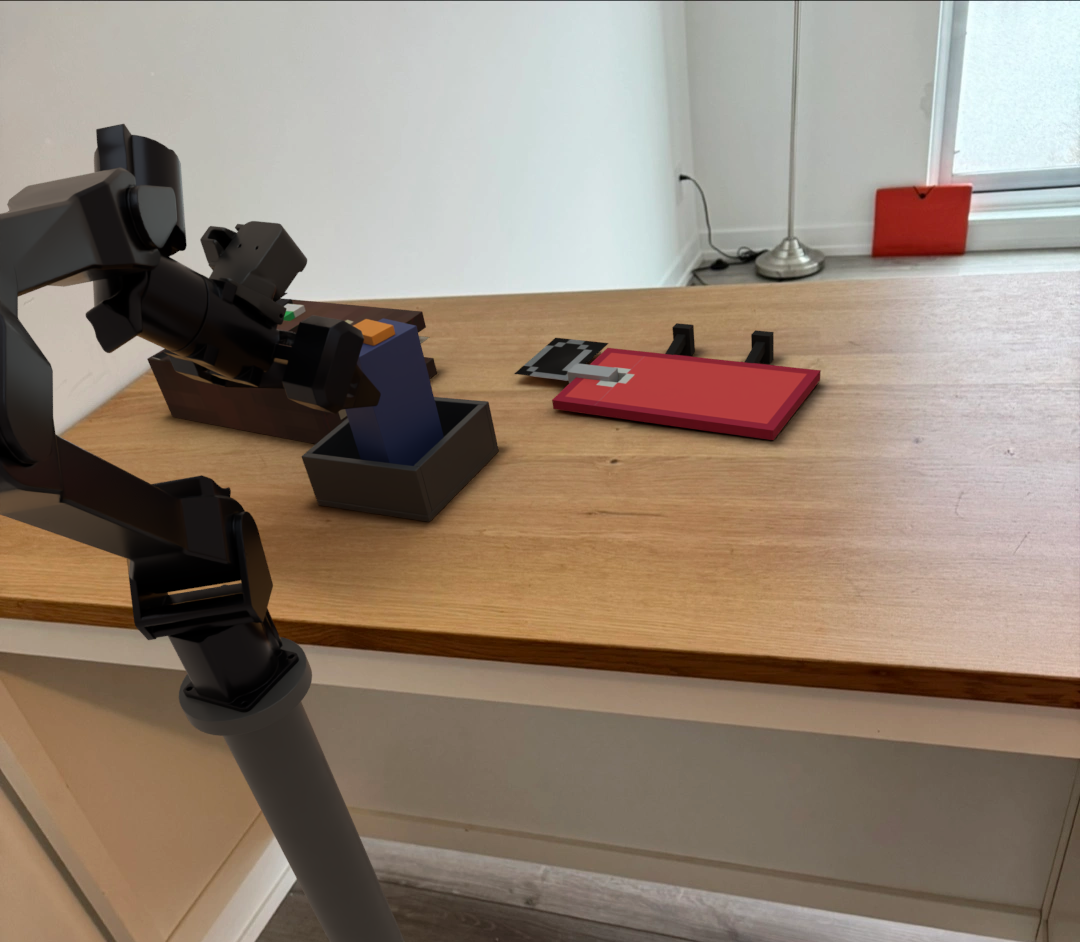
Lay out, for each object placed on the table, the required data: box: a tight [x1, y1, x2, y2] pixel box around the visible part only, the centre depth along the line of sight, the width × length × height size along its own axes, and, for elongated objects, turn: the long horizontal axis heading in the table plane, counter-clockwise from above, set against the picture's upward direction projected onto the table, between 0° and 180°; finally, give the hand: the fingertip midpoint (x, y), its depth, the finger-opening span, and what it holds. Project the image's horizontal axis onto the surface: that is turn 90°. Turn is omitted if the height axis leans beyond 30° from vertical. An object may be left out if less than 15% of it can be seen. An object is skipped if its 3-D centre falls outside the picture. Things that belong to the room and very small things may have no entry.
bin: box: [300, 396, 500, 523], centre depth 92 cm, size 12×12×5 cm
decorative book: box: [146, 292, 438, 445], centre depth 110 cm, size 19×8×30 cm
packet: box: [345, 318, 444, 466], centre depth 89 cm, size 6×4×14 cm
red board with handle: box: [513, 322, 822, 441], centre depth 99 cm, size 30×3×15 cm
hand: (340, 390), depth 84 cm, fingers open, 9 cm apart
